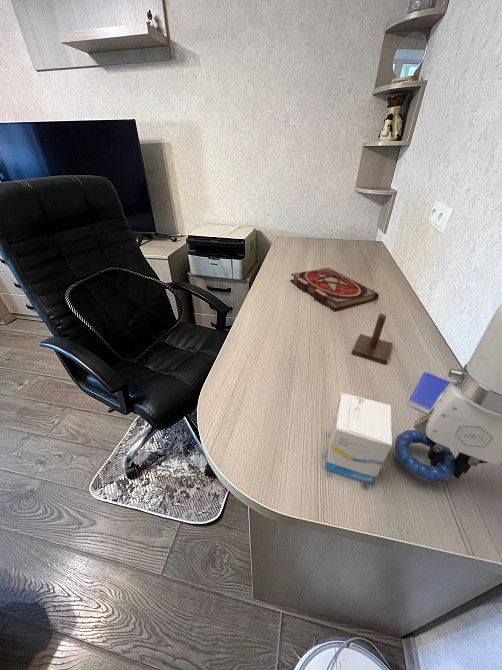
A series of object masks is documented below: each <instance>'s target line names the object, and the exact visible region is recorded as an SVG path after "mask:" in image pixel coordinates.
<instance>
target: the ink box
mask: <svg viewBox="0 0 502 670" xmlns="http://www.w3.org/2000/svg"><path fill="white" fill-rule="evenodd" d="M328 438H329V439H328V445H327V451H326V452H327V453H326V461H325V465H324V466H325V467H324V469H325V471H329V472H332V473H335V474H338V475H341V476H344V477H346V478H350V479H353V480H356V481H359V482H363V483H366V484H370V485H374V484H375V481H376V479H377V478H378V477H377V476H378V475H379V473H380V471H381V469H382V468H383V465H384V462H385V461H386V459H387V457H388V454H389V452H390V451H391V449H392V446H393V428H392V405H390V404H387V403H384V402H381V401H377V400H374V399H369V398H366V397H361V396H358V395H354V394H350V393H345V392H340V396H339V399H338V402H337V406H336V410H335V414H334V417H333V420H332V424H331V428H330V431H329V437H328Z"/></svg>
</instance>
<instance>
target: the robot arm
mask: <svg viewBox="0 0 502 670" xmlns="http://www.w3.org/2000/svg"><path fill="white" fill-rule="evenodd" d="M448 378H451V379H452V381H450V382H451V383H450V384H449V385H448V386H447V387H446V388H445V389H444V390H443V392H442V393H441V394H440V395H439V397H438V398H437V400H436V401H435V403H434V404H433V406H432V408H431V409H430V411H429V414H426V415H424V416H422V417H420V418H418V419H416V420H414V425H413V428H414V430H417V431H418V432H420V433H421V434H422V435H425V437H426V439H427V440H428V441H429V443H430V444H431V445H432V446H431V447H429V449H428V452H427V459H428V460H430V461H429V462H430V463H429V466H437V465H438V464H439V463H440V460H441V459H442V457H443V449H444V447H448V448H449V449H450V450H454V451H456V452H458V454H457V455H456V456H455V459H456V472H455V473H454V474H453V475H452V476H453V477H454V478H455V479H457V480H459V479H460V478H461V476H462V475H463V474H467V473H468V471H469V470H470V469H471V468H472V467H477V466H479V464H492V465H497V466H501V465H502V303H500V304H499V305H498V307H497V308H496V310H495V311H494V313H493V315H492V317H491V318H490V321H489V322H488V324H487V326H486V329H485V330H484V332H483V334H482V336H481V338H480V339H479V341H478V343H477V345H476V347H475V349H474V351H473V353H472V354H471V356H470V358H469V360H468V362H467V363H465V364H464V366H463V367H462V368H461V369H460V368H457V369H456V368H452V367H451V368H450V370H449V372H448Z"/></svg>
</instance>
